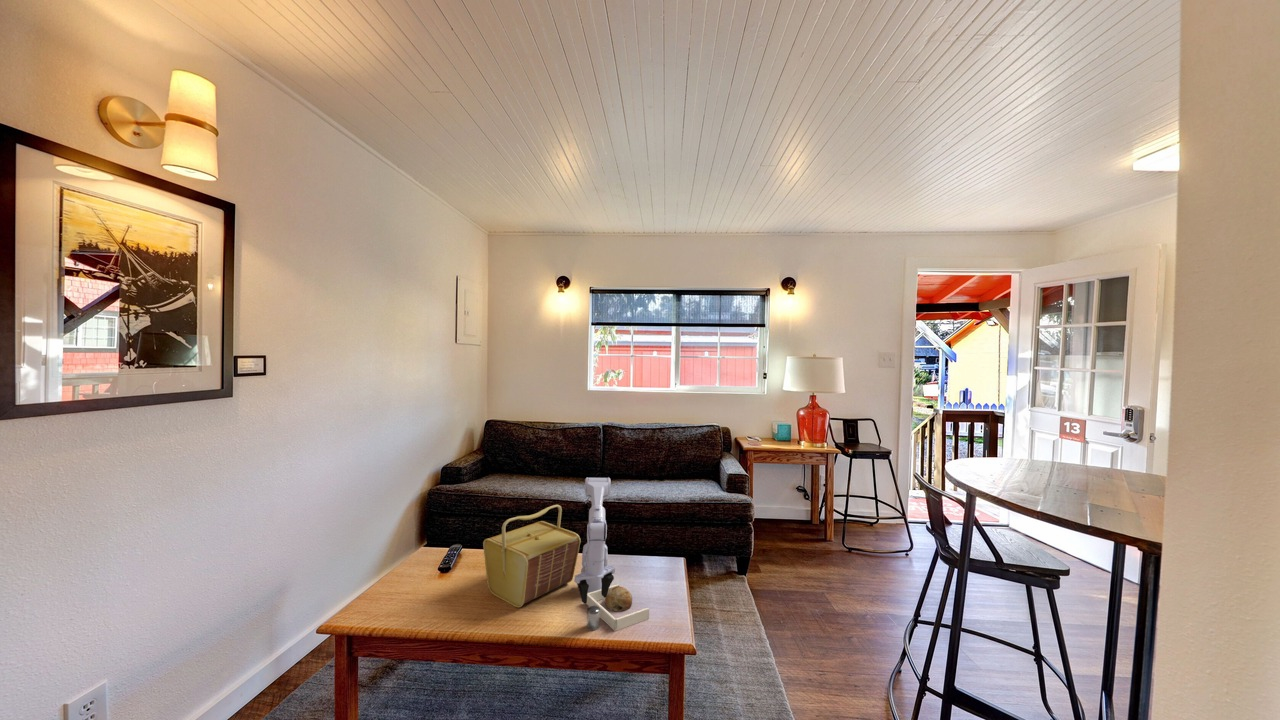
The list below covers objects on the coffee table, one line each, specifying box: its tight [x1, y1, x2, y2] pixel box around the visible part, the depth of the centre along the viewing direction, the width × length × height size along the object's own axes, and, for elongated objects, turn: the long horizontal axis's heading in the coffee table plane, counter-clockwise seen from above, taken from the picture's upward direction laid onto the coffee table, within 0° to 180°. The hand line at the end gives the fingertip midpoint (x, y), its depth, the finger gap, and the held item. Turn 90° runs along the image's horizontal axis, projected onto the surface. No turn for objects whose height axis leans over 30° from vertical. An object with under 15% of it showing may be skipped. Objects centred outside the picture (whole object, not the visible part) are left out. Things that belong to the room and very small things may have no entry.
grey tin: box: [586, 606, 600, 632], centre depth 152 cm, size 4×4×6 cm
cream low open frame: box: [586, 583, 650, 632], centre depth 163 cm, size 20×14×4 cm
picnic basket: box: [482, 504, 582, 609], centre depth 176 cm, size 29×26×30 cm
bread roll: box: [604, 585, 633, 612], centre depth 167 cm, size 10×10×8 cm
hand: (594, 599), depth 152 cm, fingers open, 7 cm apart
